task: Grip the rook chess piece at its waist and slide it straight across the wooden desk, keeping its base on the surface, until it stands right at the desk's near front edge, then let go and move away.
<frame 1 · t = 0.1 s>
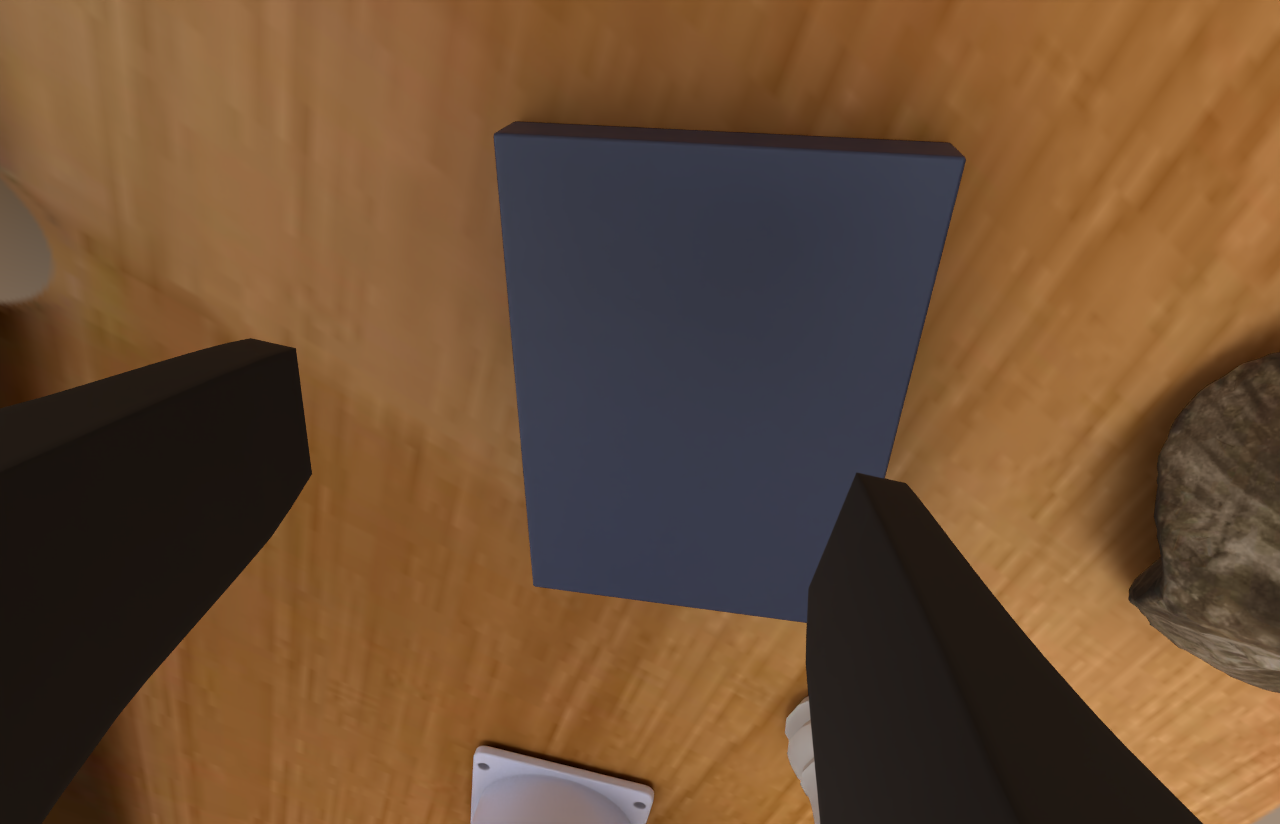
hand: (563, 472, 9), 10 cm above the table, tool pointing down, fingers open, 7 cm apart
rook chess piece: (844, 716, 26), on the table
notebook: (703, 394, 20), on the table
fossilized seashell: (1265, 481, 19), on the table
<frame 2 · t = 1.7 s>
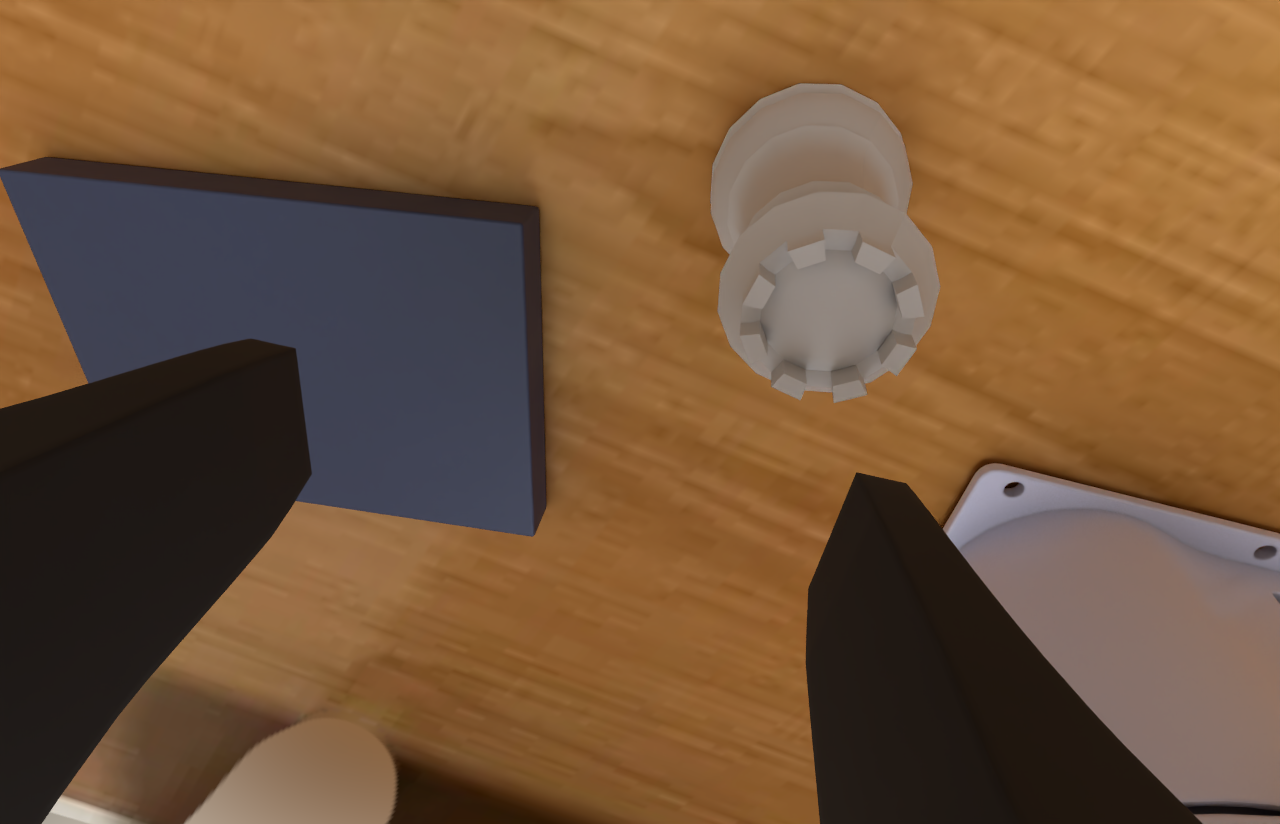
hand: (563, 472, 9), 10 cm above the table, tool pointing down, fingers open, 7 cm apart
rook chess piece: (805, 180, 17), on the table
notebook: (319, 348, 21), on the table
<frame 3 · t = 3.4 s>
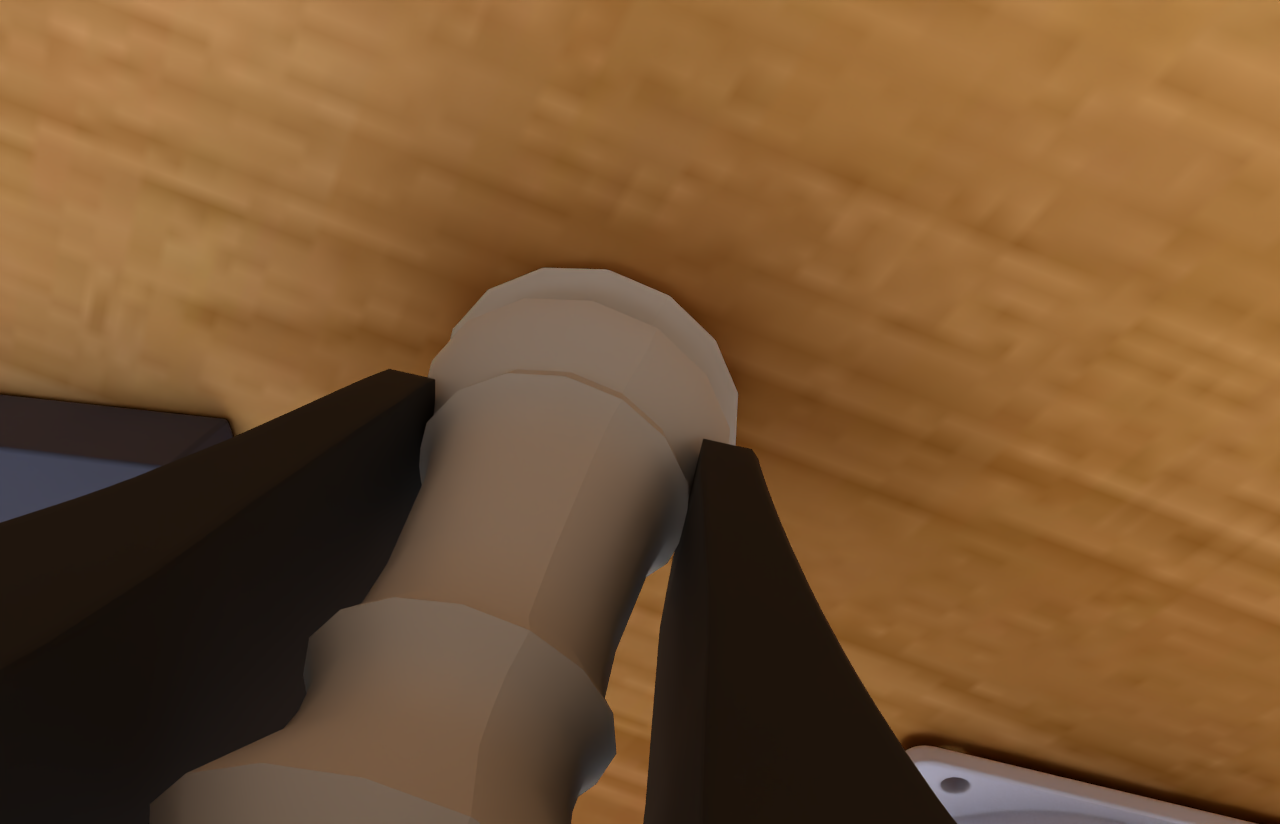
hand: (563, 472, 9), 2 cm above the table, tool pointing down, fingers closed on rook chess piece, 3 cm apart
rook chess piece: (596, 387, 11), on the table, touching gripper
notebook: (8, 574, 16), on the table
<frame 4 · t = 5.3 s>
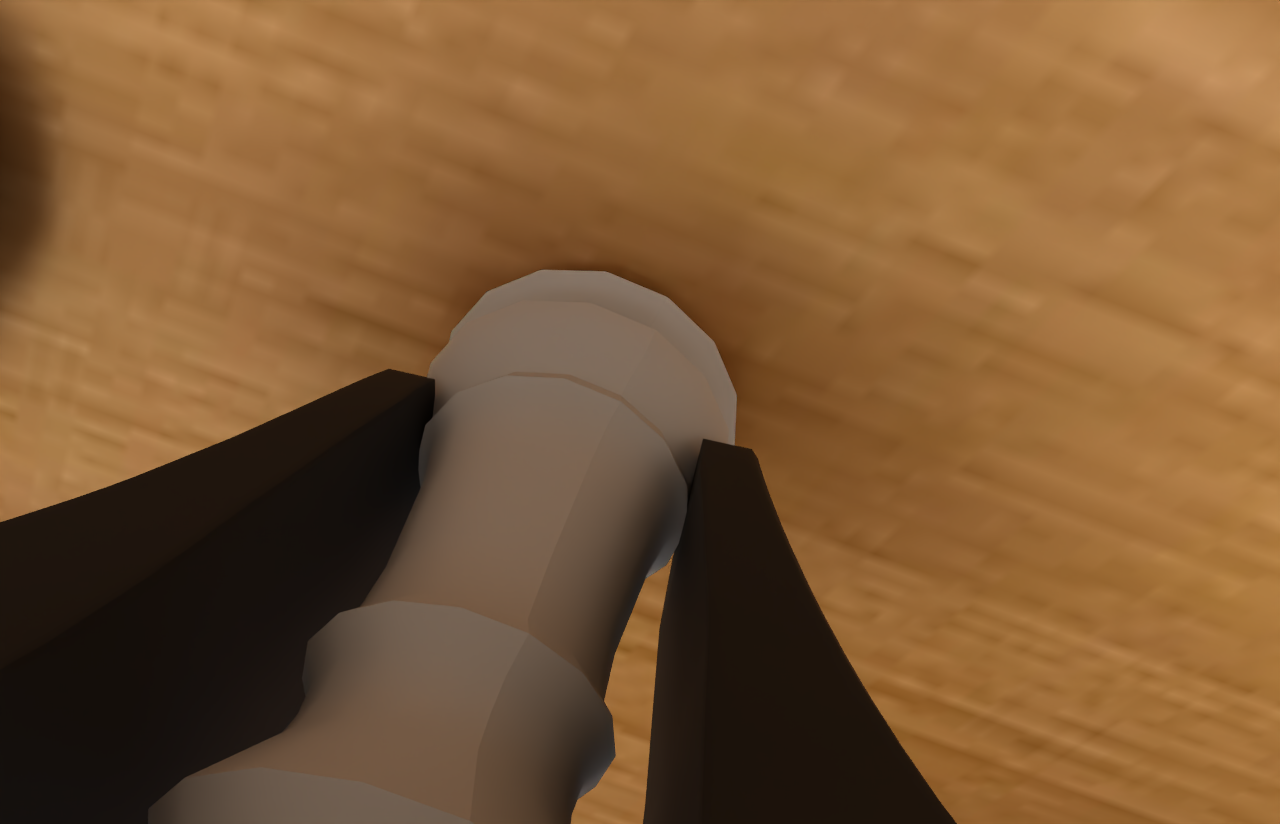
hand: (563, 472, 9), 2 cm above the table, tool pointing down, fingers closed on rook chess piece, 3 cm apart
rook chess piece: (595, 389, 11), on the table, touching gripper
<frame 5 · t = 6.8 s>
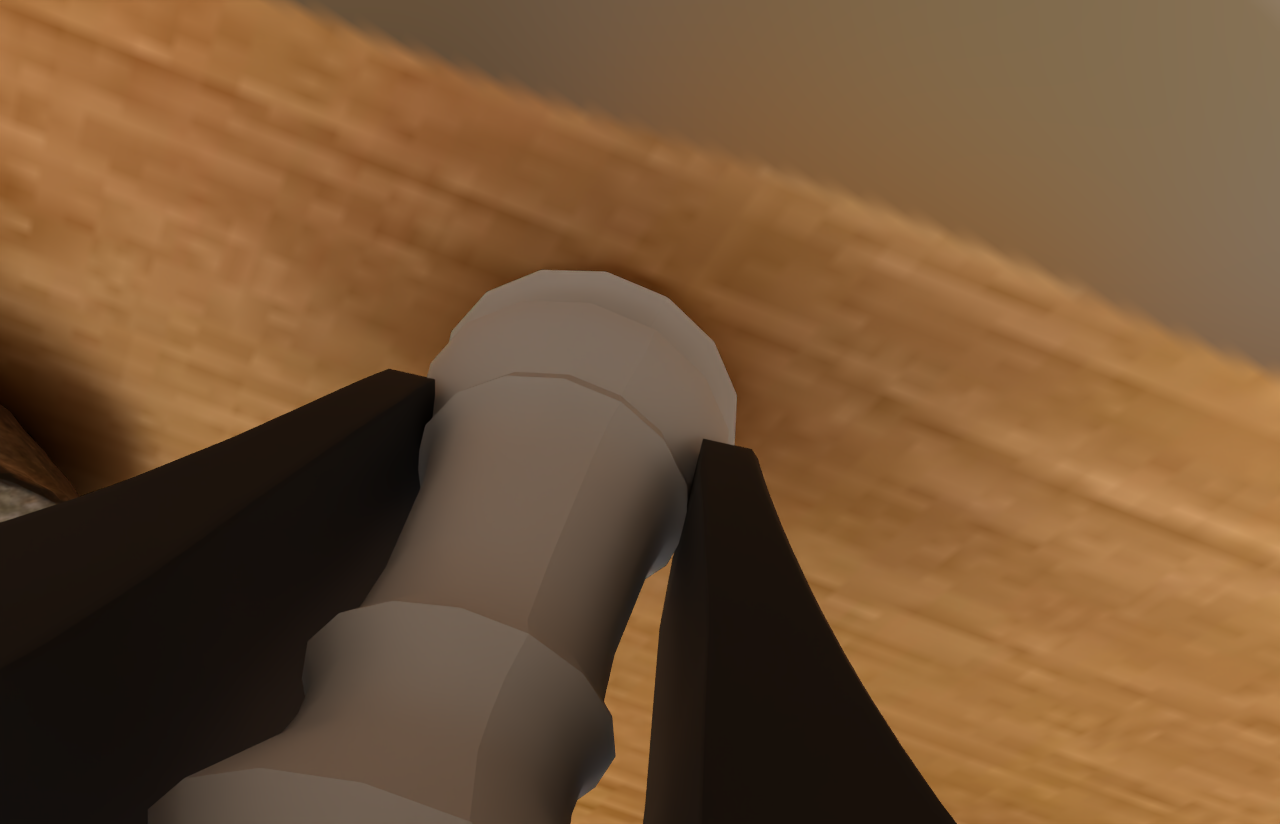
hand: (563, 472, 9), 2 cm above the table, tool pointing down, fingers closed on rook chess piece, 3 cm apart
rook chess piece: (595, 389, 11), on the table, touching gripper
when the fingers open (2 cm above the table, at t = 7.4 s): rook chess piece stays where it is, on the table.
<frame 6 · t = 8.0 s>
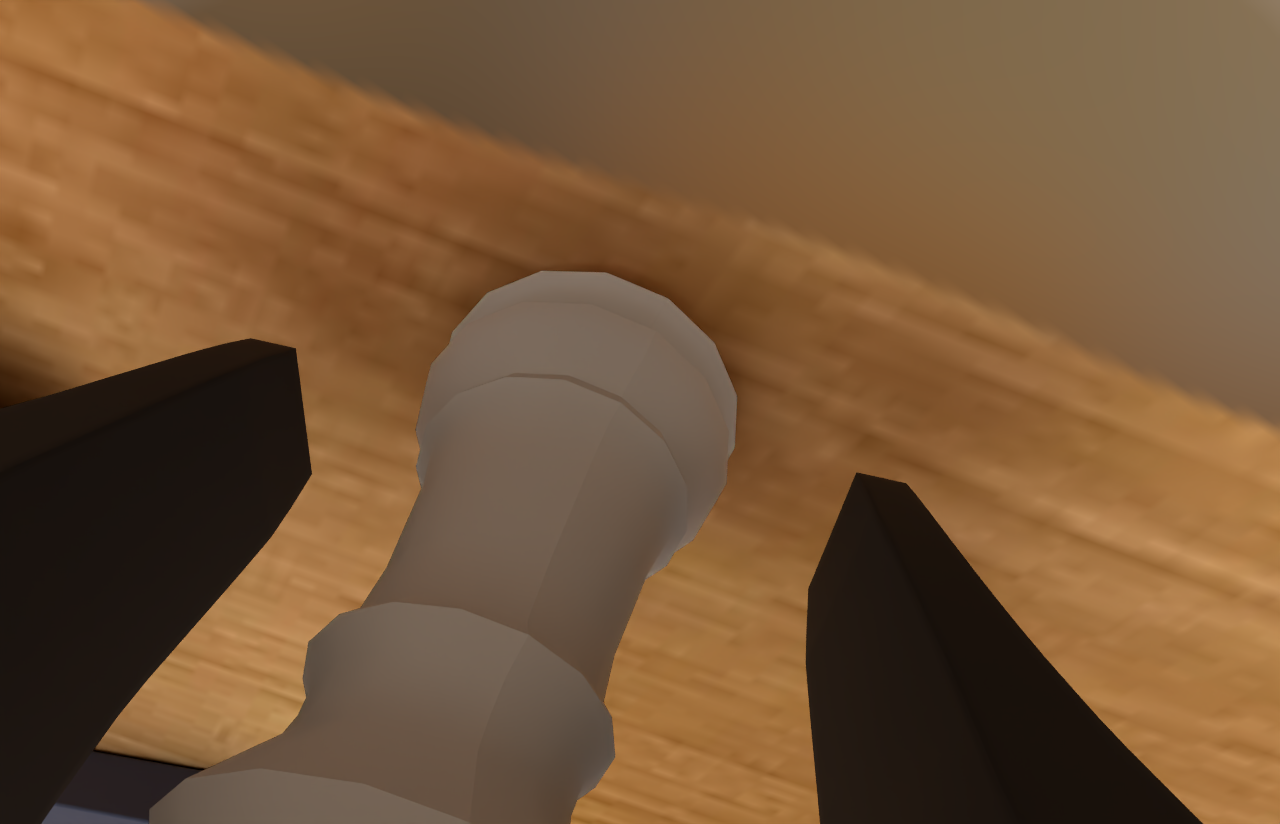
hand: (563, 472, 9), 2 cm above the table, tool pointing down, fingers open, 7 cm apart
rook chess piece: (595, 390, 11), on the table
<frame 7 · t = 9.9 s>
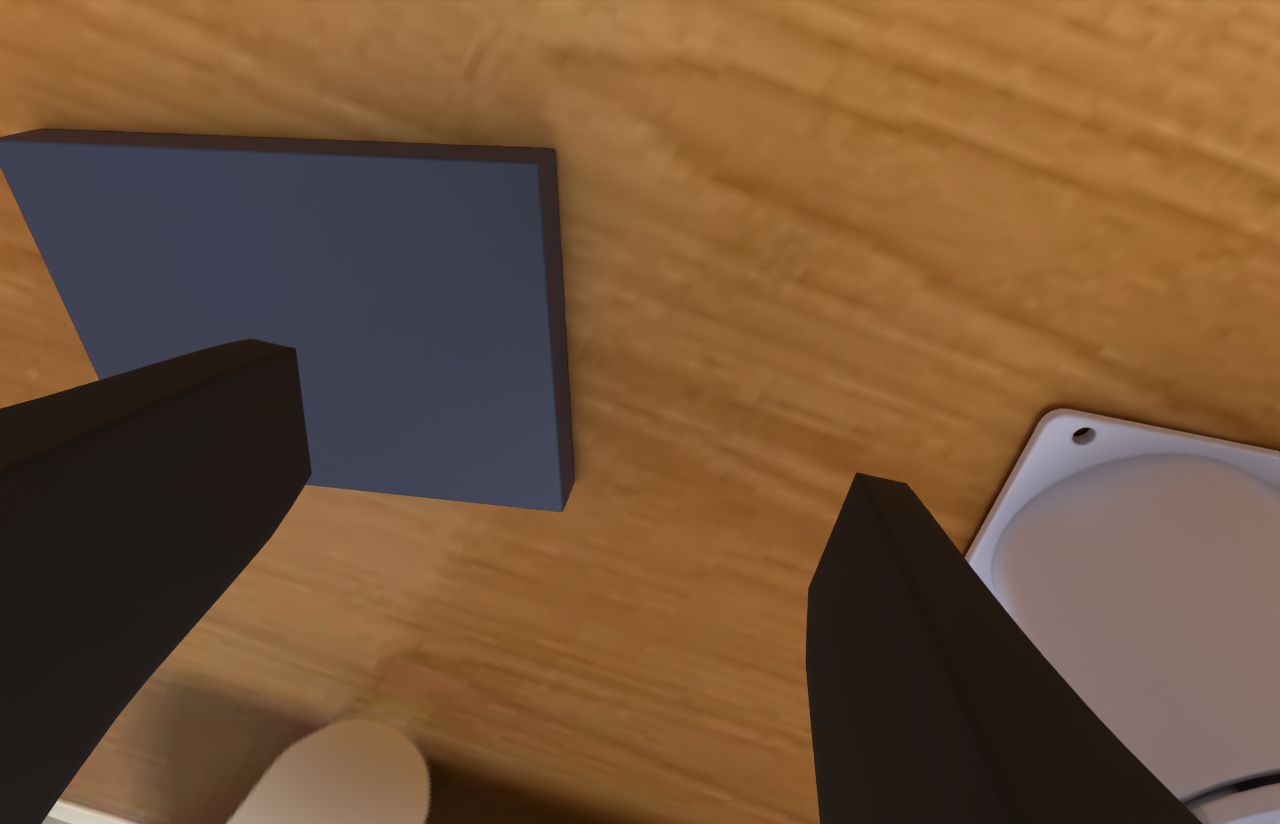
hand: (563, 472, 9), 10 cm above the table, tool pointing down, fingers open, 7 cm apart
notebook: (330, 320, 20), on the table
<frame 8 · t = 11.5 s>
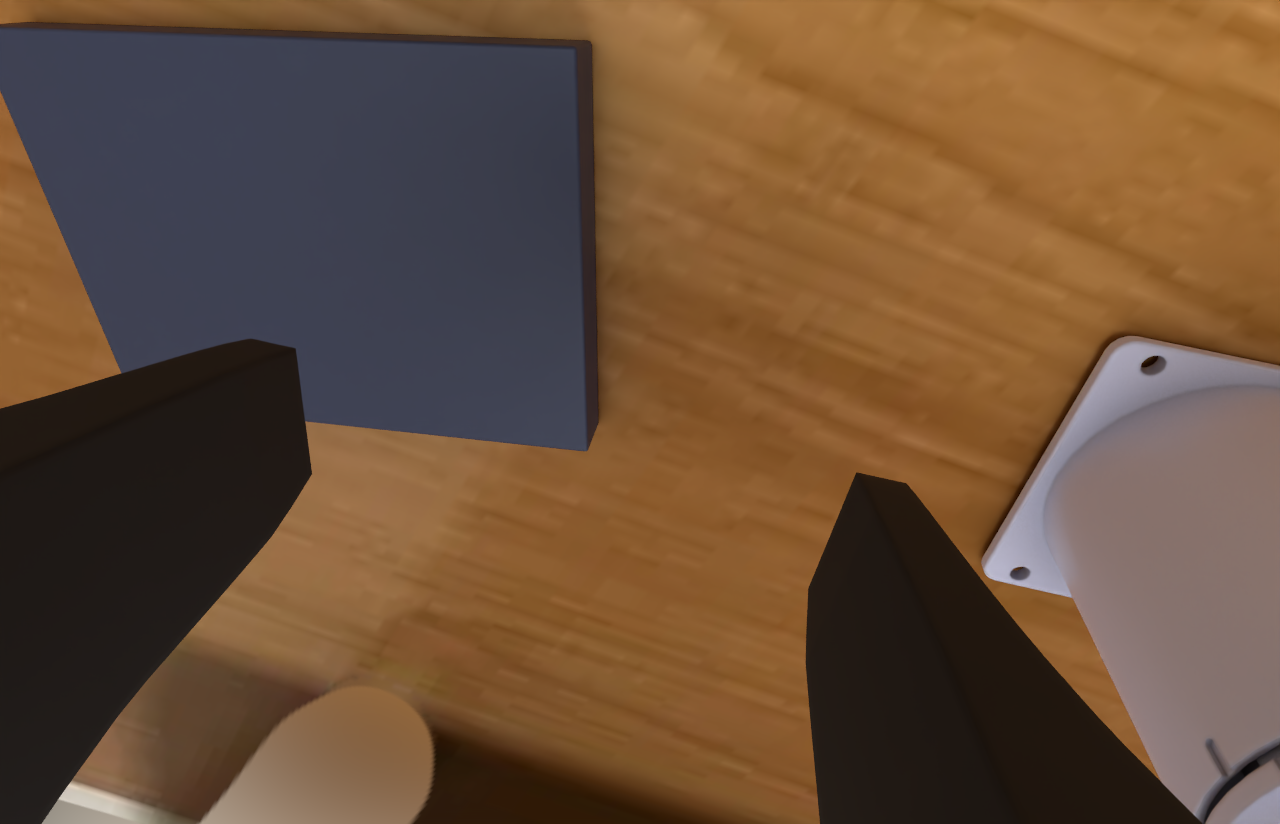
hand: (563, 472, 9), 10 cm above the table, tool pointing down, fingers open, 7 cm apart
notebook: (341, 241, 19), on the table
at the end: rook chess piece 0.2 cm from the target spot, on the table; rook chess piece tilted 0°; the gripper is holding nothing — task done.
